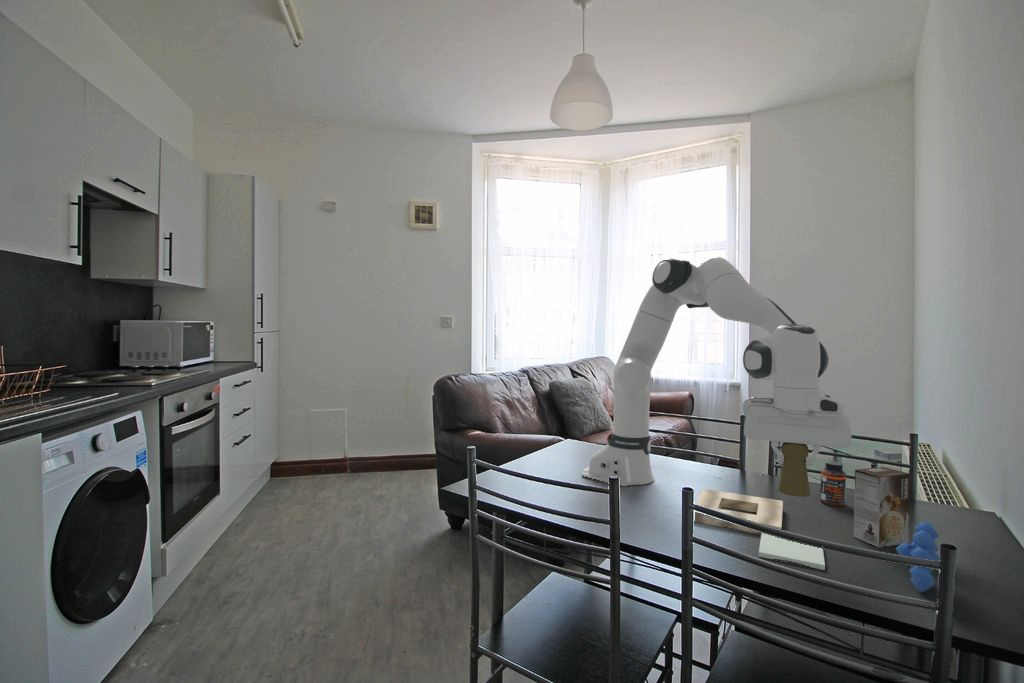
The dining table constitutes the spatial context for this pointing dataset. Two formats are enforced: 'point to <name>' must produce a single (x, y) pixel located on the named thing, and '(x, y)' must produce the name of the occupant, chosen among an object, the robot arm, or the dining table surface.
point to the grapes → (921, 554)
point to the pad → (791, 551)
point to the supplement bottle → (833, 484)
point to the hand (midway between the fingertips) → (794, 463)
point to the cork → (794, 470)
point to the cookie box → (882, 506)
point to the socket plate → (765, 509)
